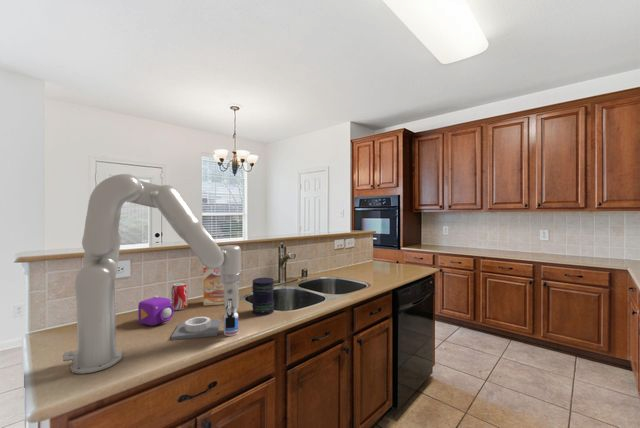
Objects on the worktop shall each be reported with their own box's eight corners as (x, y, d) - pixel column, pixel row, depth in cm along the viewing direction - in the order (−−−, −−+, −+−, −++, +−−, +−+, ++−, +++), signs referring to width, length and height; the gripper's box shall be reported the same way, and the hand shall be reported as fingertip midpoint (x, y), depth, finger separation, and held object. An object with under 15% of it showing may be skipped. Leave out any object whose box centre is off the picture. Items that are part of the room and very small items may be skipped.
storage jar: (277, 312, 134) (277, 280, 134) (257, 317, 128) (257, 283, 128) (268, 307, 142) (268, 276, 142) (249, 310, 137) (249, 279, 136)
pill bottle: (241, 333, 112) (241, 308, 112) (228, 337, 108) (228, 311, 108) (233, 329, 116) (233, 304, 116) (221, 333, 112) (221, 308, 112)
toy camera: (162, 328, 116) (162, 303, 116) (133, 325, 119) (133, 301, 119) (180, 318, 127) (180, 296, 127) (153, 316, 130) (153, 294, 130)
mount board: (171, 340, 106) (170, 330, 106) (180, 325, 120) (180, 316, 120) (217, 335, 110) (217, 325, 110) (220, 321, 123) (220, 313, 123)
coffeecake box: (203, 306, 144) (203, 266, 144) (205, 301, 151) (205, 264, 151) (234, 303, 147) (234, 265, 147) (235, 299, 154) (235, 263, 154)
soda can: (183, 311, 136) (183, 285, 136) (168, 311, 136) (168, 285, 136) (190, 306, 143) (190, 282, 143) (176, 306, 143) (175, 282, 143)
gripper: (240, 282, 104) (240, 331, 104) (241, 272, 121) (241, 314, 121) (218, 284, 102) (218, 333, 102) (222, 273, 119) (223, 316, 119)
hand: (231, 323), depth 112 cm, fingers open, 7 cm apart
